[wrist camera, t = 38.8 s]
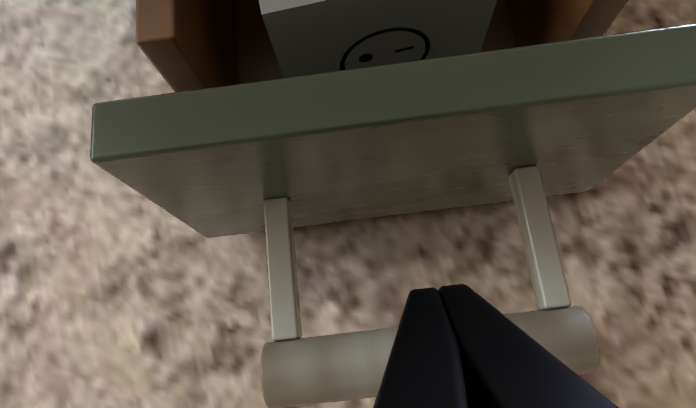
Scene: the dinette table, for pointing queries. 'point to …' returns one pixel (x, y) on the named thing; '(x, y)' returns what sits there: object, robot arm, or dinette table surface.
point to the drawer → (390, 150)
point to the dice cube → (371, 32)
